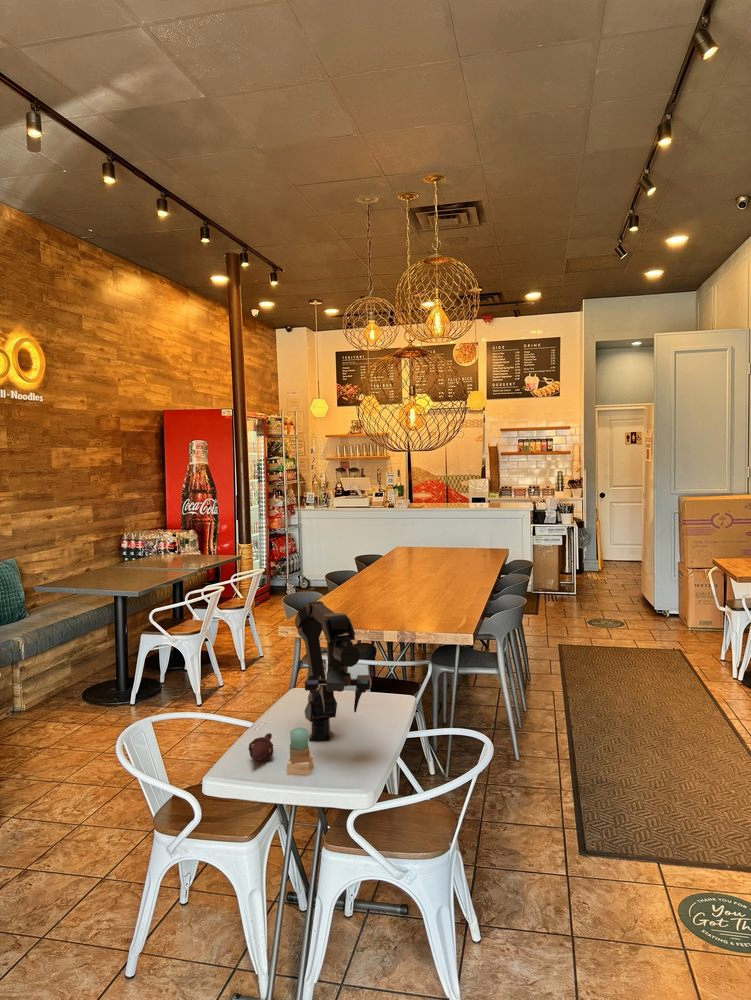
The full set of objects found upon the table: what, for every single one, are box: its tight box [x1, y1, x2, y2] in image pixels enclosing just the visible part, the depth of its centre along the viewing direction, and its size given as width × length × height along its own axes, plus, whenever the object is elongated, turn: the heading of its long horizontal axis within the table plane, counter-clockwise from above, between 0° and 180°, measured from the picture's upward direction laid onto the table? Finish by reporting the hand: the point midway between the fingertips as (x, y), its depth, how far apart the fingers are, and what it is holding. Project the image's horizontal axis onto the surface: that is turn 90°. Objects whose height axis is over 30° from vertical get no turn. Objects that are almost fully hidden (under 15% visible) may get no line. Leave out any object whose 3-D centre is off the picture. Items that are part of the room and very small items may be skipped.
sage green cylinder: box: [289, 727, 309, 750], centre depth 194 cm, size 5×5×4 cm
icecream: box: [248, 732, 274, 763], centre depth 202 cm, size 7×7×15 cm
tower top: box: [289, 743, 311, 764], centre depth 194 cm, size 5×5×4 cm
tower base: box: [286, 754, 315, 776], centre depth 194 cm, size 6×6×4 cm
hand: (339, 712), depth 203 cm, fingers open, 9 cm apart
